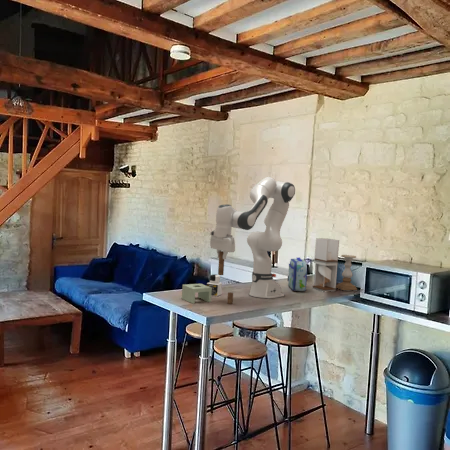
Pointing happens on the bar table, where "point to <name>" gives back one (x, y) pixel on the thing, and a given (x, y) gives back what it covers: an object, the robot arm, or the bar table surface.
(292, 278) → the lunch box
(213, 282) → the medicine bottle
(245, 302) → the bar table surface
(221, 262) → the long pin
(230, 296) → the short pin
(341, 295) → the bar table surface
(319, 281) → the white stand
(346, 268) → the candle holder
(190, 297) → the bridge
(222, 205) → the robot arm
